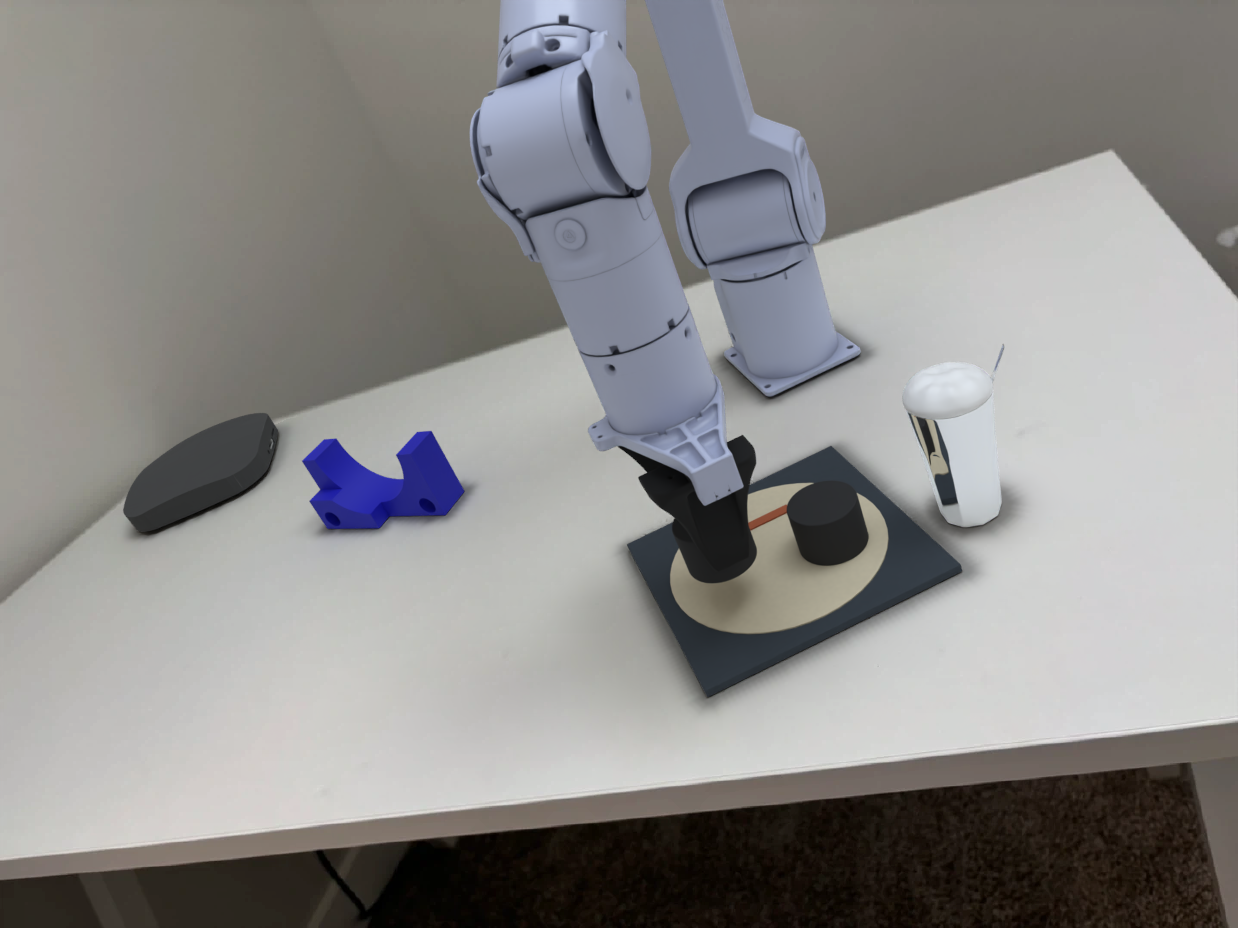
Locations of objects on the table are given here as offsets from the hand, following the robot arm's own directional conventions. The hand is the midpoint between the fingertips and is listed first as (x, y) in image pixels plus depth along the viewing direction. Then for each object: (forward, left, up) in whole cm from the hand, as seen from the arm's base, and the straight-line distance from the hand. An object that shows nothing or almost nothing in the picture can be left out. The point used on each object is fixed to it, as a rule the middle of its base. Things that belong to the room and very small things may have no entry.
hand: (715, 539), depth 52 cm
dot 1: (0, 0, -1) cm, 1 cm away
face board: (-2, +3, -4) cm, 6 cm away
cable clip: (-29, -20, -5) cm, 35 cm away
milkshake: (+2, +14, -5) cm, 15 cm away
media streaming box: (-53, -39, -5) cm, 65 cm away
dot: (0, +6, -4) cm, 7 cm away
